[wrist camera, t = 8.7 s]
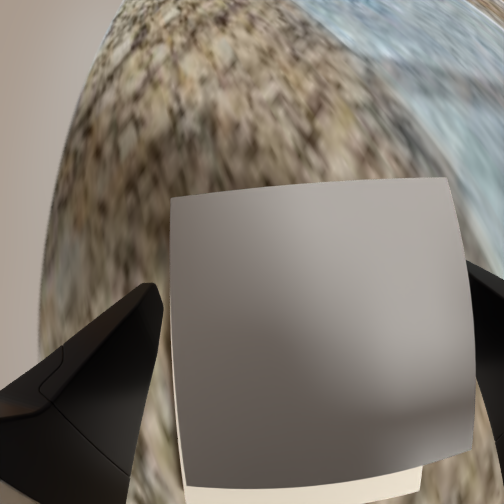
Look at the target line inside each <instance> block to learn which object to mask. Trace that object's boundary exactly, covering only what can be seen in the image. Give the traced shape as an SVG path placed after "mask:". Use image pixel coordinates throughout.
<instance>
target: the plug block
mask: <svg viewBox="0 0 504 504" xmlns="http://www.w3.org/2000/svg"><path fill="white" fill-rule="evenodd" d="M170 300H171V328H172V348H173V364H174V378H175V391H176V402H177V413H178V423H179V432H180V441H181V449H182V457H183V465H184V472H185V479H186V486H192V487H204V488H222V489H278V488H296V487H308V486H318V485H327V484H335V483H342V482H349V481H355V480H361V479H367V478H372V477H377V476H382V475H387V474H391V473H396V472H400V471H404V470H408V469H412V468H416V467H419V466H423V465H426V464H430V463H433V462H436V461H440V460H443V459H446V458H449V457H452V456H455V455H458V454H460V453H463V452H466V451H469V450H471V449H472V439H473V428H474V414H475V389H476V363H475V338H474V323H473V312H472V302H471V293H470V285H469V278H468V271H467V265H466V259H465V253H464V248H463V243H462V238H461V233H460V228H459V224H458V219H457V215H456V211H455V207H454V203H453V199H452V195H451V191H450V188H449V184H448V181H447V178H397V179H371V180H351V181H334V182H319V183H306V184H293V185H281V186H270V187H260V188H249V189H240V190H231V191H222V192H213V193H205V194H197V195H189V196H181V197H174V198H171V202H170Z"/></svg>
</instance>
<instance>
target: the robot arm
mask: <svg viewBox="0 0 504 504" xmlns="http://www.w3.org/2000/svg"><path fill="white" fill-rule="evenodd" d="M466 265H467V271H468V278H469V285H470V293H471V302H472V312H473V323H474V338H475V363H476V379H477V381H478V385H479V388H480V391H481V394H482V397H483V400H484V403H485V407H486V410H487V414H488V417H489V421H490V425H491V428H492V432H493V436H494V440H495V441H496V442H495V445H496V449H497V454H498V458H499V463H500V468H501V473H502V479H503V485H504V280H503V279H501V278H499V277H498V276H496V275H494V274H492V273H490V272H488V271H486V270H484V269H483V268H481V267H479V266H477V265H475V264H473V263H471V262H469V261H467V260H466ZM163 310H164V308H163V303H162V300H161V297H160V294H159V291H158V288H157V286H156V284H155V283H142V284H140V285H139V286H138V287H136V288H135V289H134V290H132V291H131V292H130V293H128V294H127V295H126V296H124V297H123V298H122V299H120V300H119V301H118V302H116V303H115V304H114V305H113V306H111V307H110V308H109V309H107V310H106V311H105V312H103V313H102V314H101V315H100V316H98V317H97V318H96V319H94V320H93V321H92V322H91V323H89V324H88V325H87V326H85V327H84V328H83V329H82V330H80V331H79V332H78V333H77V334H75V335H74V336H73V337H72V338H70V339H69V340H68V341H67V342H65V343H64V344H63V345H61V346H60V347H59V348H58V349H56V350H55V351H54V352H53V353H51V354H50V355H49V356H48V357H46V358H45V359H44V360H43V361H41V362H40V363H38V364H37V365H36V366H34V367H33V368H32V369H30V370H29V371H27V372H26V373H25V374H23V375H22V376H20V377H19V378H18V379H16V380H15V381H13V382H12V383H10V384H9V385H8V386H6V387H5V388H3V389H2V390H0V504H126V499H127V493H128V487H129V482H130V475H131V470H132V465H133V459H134V454H135V449H136V444H137V440H138V435H139V430H140V425H141V421H142V416H143V412H144V407H145V403H146V399H147V394H148V390H149V386H150V382H151V377H152V373H153V369H154V365H155V361H156V357H157V352H158V346H159V339H160V332H161V324H162V318H163Z"/></svg>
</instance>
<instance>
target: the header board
mask: <svg viewBox="0 0 504 504" xmlns="http://www.w3.org/2000/svg"><path fill="white" fill-rule="evenodd" d="M170 320H171V300H170ZM171 349H172V370H173V386H174V400H175V413H176V424H177V435H178V445H179V454H180V463H181V471H182V479H183V486H184V493H185V500H186V504H363V503H368V502H374V501H379V500H384V499H388V498H393V497H397V496H401V495H405V494H409V493H413V492H417V491H419V489H420V482H421V474H422V466H419V467H416V468H412V469H408V470H404V471H400V472H396V473H391V474H387V475H382V476H377V477H372V478H367V479H361V480H355V481H349V482H342V483H335V484H327V485H318V486H308V487H296V488H278V489H222V488H204V487H192V486H186V479H185V472H184V465H183V457H182V449H181V441H180V432H179V423H178V413H177V402H176V391H175V378H174V364H173V348H172V328H171Z"/></svg>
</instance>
